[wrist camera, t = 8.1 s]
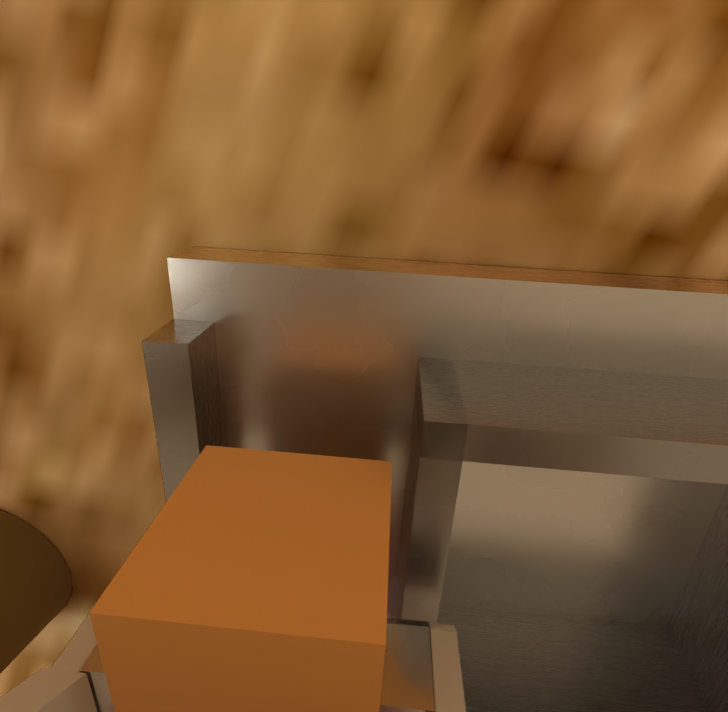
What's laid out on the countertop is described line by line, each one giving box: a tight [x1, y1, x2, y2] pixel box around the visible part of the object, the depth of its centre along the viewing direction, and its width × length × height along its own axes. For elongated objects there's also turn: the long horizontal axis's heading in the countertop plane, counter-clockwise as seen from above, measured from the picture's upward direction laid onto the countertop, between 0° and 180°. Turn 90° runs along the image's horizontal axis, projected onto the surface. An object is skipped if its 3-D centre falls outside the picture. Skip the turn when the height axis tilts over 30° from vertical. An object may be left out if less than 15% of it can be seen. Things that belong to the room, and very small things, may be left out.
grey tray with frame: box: [142, 247, 728, 712], centre depth 12 cm, size 15×13×4 cm
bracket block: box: [89, 445, 392, 712], centre depth 9 cm, size 4×6×4 cm, turn 177°
